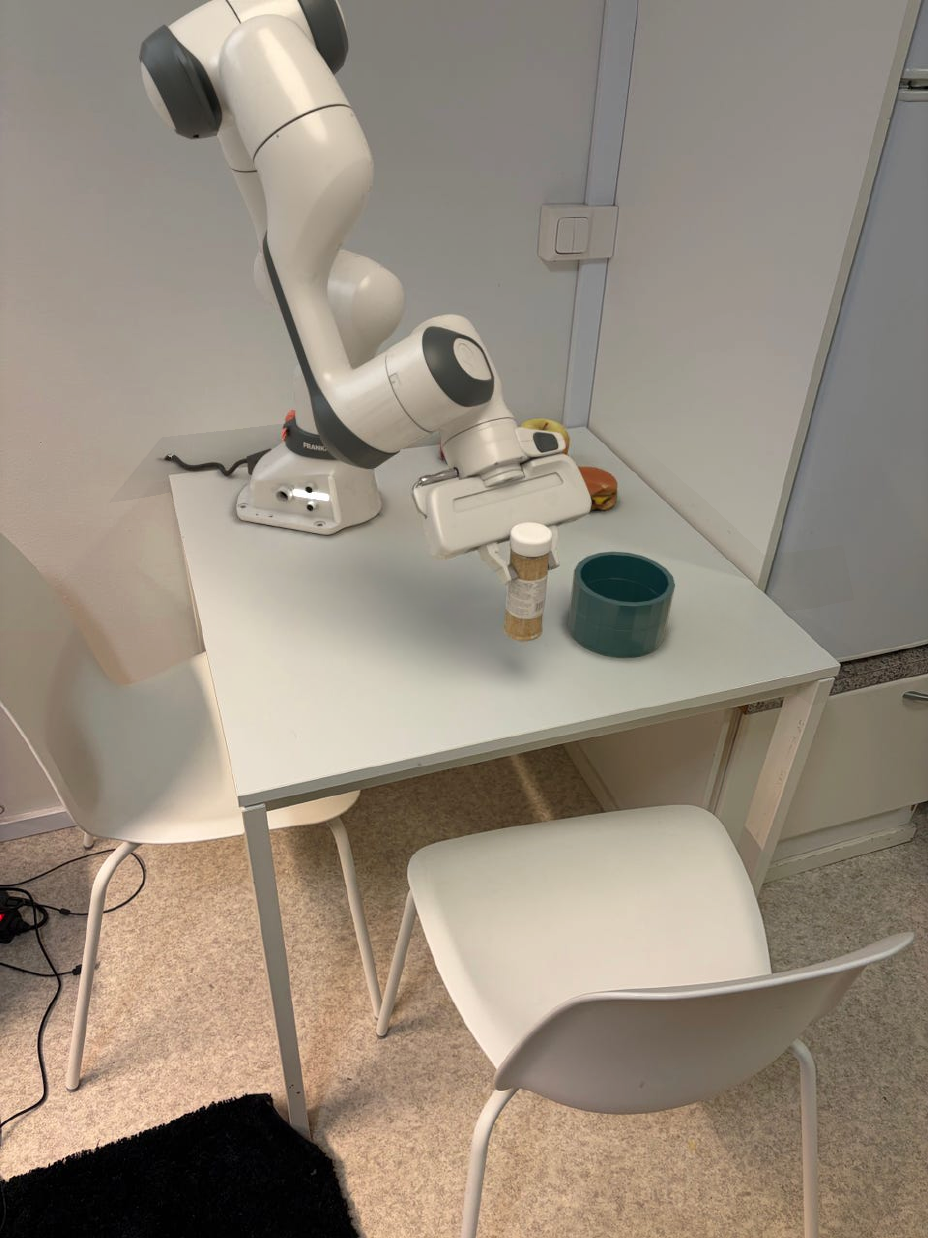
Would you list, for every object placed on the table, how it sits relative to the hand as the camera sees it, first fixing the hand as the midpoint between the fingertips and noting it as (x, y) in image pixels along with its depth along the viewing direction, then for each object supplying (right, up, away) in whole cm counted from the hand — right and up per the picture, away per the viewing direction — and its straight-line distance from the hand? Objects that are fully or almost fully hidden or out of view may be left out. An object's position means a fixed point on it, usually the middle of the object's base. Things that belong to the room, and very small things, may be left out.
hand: (531, 575), depth 101 cm
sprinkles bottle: (-1, -6, +5) cm, 8 cm away
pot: (+12, -6, +19) cm, 24 cm away
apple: (+6, +22, +59) cm, 63 cm away
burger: (+13, +15, +49) cm, 53 cm away
